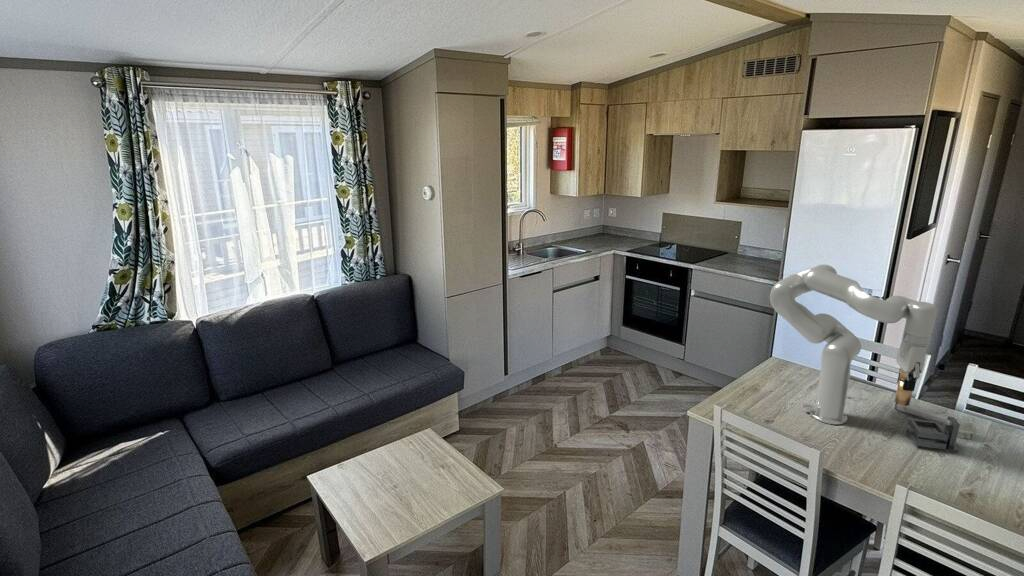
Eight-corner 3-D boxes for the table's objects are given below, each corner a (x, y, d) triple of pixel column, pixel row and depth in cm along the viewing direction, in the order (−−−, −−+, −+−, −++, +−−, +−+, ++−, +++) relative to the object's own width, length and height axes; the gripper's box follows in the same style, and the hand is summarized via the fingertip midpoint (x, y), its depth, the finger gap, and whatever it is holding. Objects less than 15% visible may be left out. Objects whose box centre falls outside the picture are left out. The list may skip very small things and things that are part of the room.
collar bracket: (905, 434, 195) (910, 409, 192) (947, 439, 191) (953, 414, 188) (914, 447, 187) (920, 422, 184) (958, 453, 183) (965, 427, 180)
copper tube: (896, 404, 187) (904, 368, 183) (892, 398, 191) (900, 362, 187) (911, 406, 186) (920, 369, 182) (906, 400, 190) (915, 364, 186)
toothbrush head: (901, 398, 212) (979, 419, 190) (900, 414, 214) (977, 436, 192) (894, 401, 210) (971, 423, 188) (893, 417, 211) (970, 440, 189)
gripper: (894, 328, 190) (884, 374, 195) (912, 346, 174) (901, 397, 180) (919, 330, 188) (908, 377, 193) (940, 349, 172) (927, 400, 178)
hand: (905, 386), depth 186 cm, fingers closed on copper tube, 4 cm apart
